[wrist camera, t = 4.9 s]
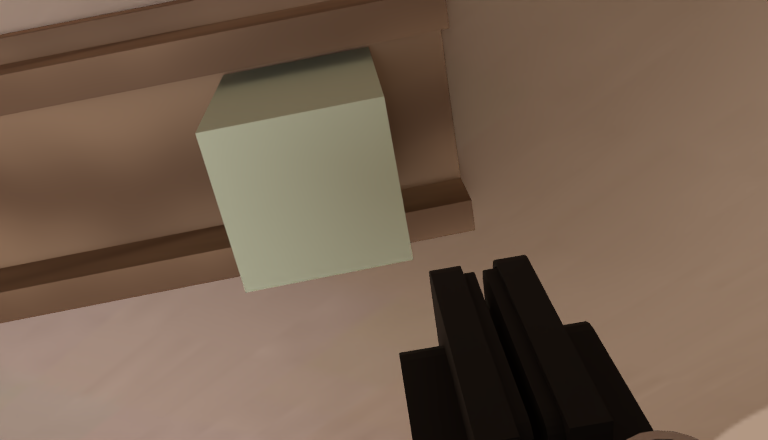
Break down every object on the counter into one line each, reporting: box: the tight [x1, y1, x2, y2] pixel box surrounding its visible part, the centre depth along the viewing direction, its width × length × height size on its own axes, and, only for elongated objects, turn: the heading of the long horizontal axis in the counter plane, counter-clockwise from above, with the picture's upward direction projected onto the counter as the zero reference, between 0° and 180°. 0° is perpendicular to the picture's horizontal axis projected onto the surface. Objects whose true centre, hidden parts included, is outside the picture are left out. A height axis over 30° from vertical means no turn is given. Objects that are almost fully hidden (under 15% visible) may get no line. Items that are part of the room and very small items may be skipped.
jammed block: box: [195, 47, 413, 293], centre depth 22 cm, size 5×5×6 cm
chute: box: [0, 0, 475, 323], centre depth 23 cm, size 10×28×6 cm, turn 100°
